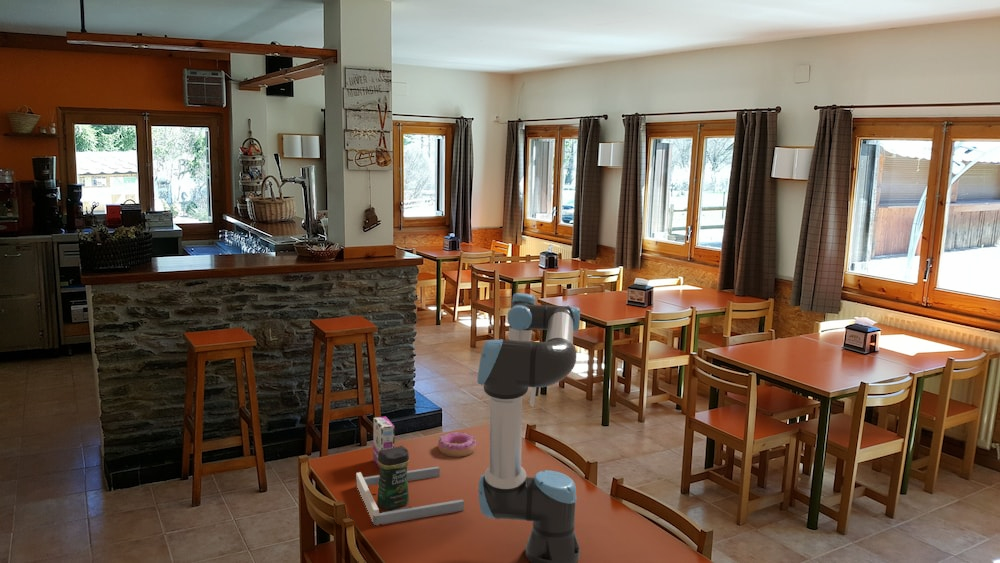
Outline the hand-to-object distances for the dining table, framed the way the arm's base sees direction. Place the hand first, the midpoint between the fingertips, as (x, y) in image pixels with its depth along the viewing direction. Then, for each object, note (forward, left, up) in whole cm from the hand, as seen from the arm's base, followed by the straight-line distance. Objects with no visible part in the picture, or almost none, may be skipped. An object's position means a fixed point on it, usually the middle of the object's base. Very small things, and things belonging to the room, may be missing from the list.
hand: (511, 404), depth 237 cm
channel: (+5, +33, -30) cm, 45 cm away
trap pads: (+5, +39, -30) cm, 49 cm away
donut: (+36, +6, -30) cm, 48 cm away
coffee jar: (+3, +39, -30) cm, 49 cm away
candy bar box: (+32, +35, -30) cm, 56 cm away
